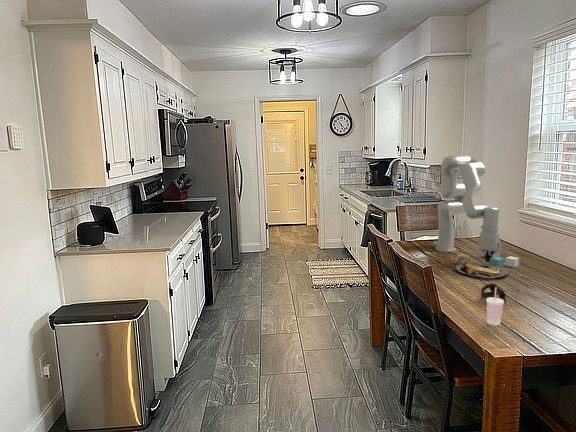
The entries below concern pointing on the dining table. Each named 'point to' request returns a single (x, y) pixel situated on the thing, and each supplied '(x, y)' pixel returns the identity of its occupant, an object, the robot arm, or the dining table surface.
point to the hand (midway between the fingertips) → (488, 261)
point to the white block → (512, 261)
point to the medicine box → (496, 253)
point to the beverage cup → (494, 309)
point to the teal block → (496, 261)
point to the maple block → (463, 258)
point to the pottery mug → (493, 291)
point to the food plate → (480, 270)
